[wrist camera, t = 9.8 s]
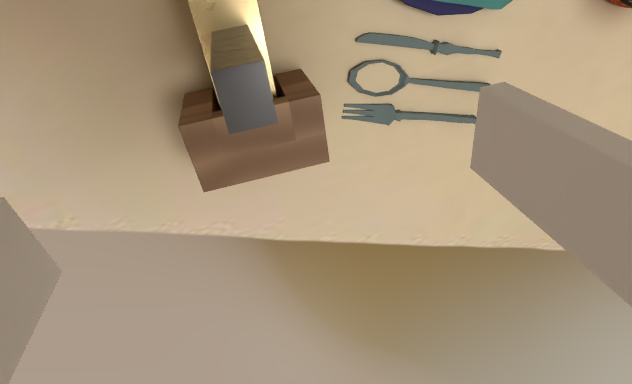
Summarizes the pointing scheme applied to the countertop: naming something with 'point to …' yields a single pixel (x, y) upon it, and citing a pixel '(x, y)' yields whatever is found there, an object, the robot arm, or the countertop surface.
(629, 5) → the canned food
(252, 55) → the gray and tan bar
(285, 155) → the socket block
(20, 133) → the countertop surface
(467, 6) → the cutlery set
